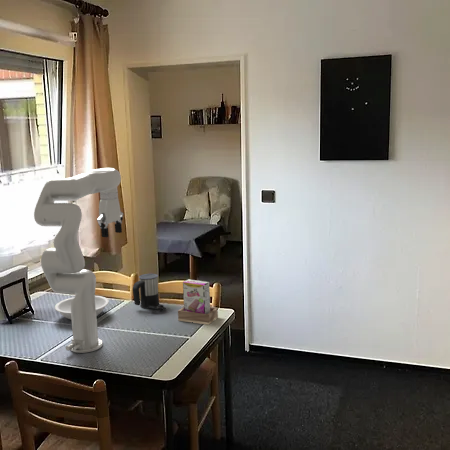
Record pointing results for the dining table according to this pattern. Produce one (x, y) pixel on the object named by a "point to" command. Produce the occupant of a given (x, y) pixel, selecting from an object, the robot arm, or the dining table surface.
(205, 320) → the open wooden box
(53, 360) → the dining table surface
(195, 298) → the candy bar box
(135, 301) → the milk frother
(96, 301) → the soup bowl
